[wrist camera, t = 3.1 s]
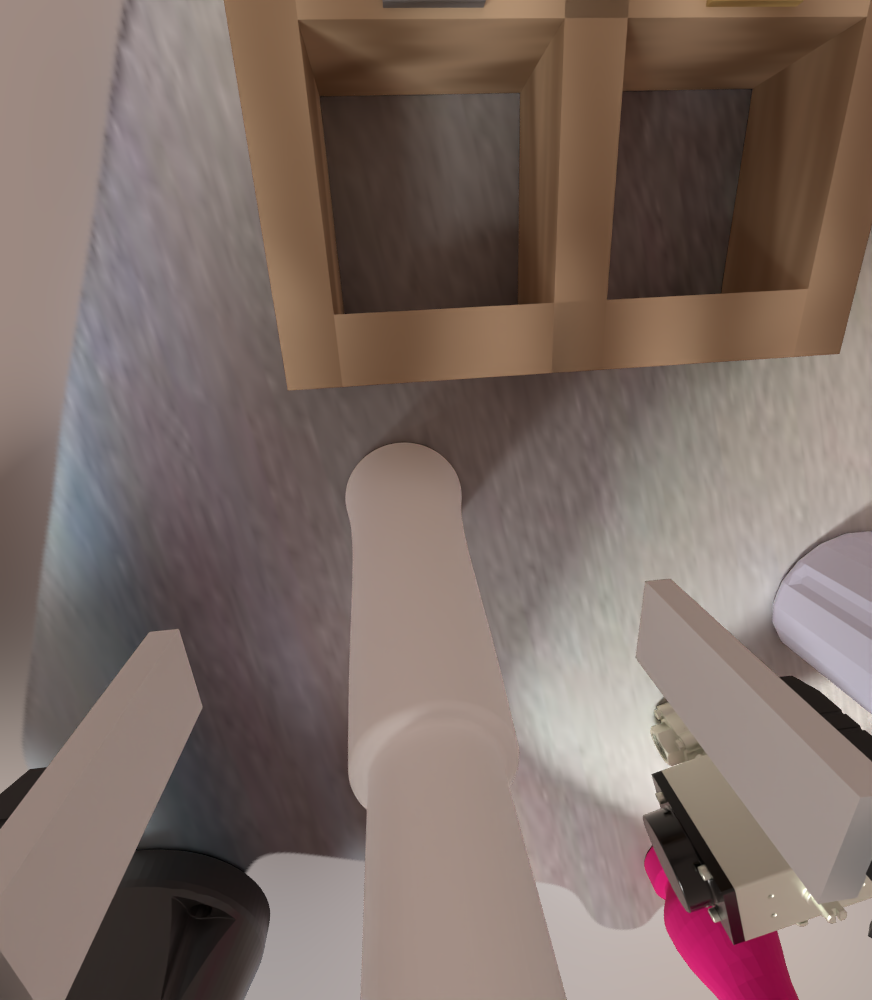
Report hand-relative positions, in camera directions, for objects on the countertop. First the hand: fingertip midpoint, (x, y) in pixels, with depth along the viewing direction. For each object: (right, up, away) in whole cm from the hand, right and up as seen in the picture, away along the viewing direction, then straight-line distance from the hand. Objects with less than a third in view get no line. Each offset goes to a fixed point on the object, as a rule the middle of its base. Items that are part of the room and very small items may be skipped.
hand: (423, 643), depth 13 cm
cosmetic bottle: (-1, +4, +11) cm, 12 cm away
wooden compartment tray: (+5, +17, +7) cm, 19 cm away
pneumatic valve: (+17, -11, +19) cm, 28 cm away
